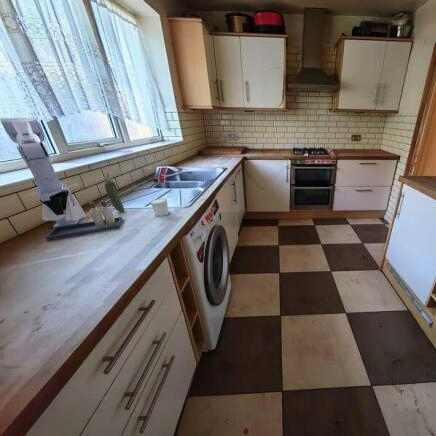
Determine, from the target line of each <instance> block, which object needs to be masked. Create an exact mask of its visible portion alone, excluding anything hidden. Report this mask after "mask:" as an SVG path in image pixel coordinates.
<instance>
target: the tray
mask: <svg viewBox="0 0 436 436" xmlns="http://www.w3.org/2000/svg"><path fill="white" fill-rule="evenodd" d="M114 219H115V221H116V224H117V225H114V226H107V224H106V221H105V219H104V222H105V224H106V227H101V228H96V225H95V223H94V220H92V221H86V222H80V223H79V222H78V223H76V224H70V225H64V226H57V227H53V229H52V230H51V231H50V232H49V233H48V234H47V235H46V236H45V239H46V241H53V240H58V239H59V240H60V239H65V238H71V237H72V238H73V237H77V236H82V235H88V234H95V233H100V232H107V231H113V230H119V229H120V227H121V225H122V224H123V221H124V218H123V217H122V216H119V217H118V216H117V217H114Z"/></svg>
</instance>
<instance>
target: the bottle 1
mask: <svg viewBox="0 0 436 436" xmlns="http://www.w3.org/2000/svg"><path fill="white" fill-rule="evenodd" d="M89 206H90V210H89V213H90V216H91V218H92V221H94V223H95V225H96V228H101V227H106V224H105V222H104V220H105V219H104V216H103V214H102V211H101V209H100V208H98V207H97V206H96V205H95V202H94V201H89Z"/></svg>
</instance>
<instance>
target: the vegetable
mask: <svg viewBox="0 0 436 436" xmlns="http://www.w3.org/2000/svg"><path fill="white" fill-rule="evenodd" d="M117 187H118V186H117V184H116V182H114V181H113V180H112V177H111V174H110V172H108V171H107V172H106V174H105V182H104V189H105V192H106V194H107V197H108V198H109V200H110V203H111V204H112V207H113V208H114V209H115V211H117V212H119V213H123V212H124V211H125V207H124V205H123V203H122V201H121V199H120V197H119V195H118V188H117Z"/></svg>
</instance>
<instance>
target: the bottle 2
mask: <svg viewBox="0 0 436 436" xmlns="http://www.w3.org/2000/svg"><path fill="white" fill-rule="evenodd" d="M100 204H101V209H100V212H101V215H102V217H103V219H104V220H105V221H106V224H107V226H114V225H117V224H116V221H115V219H114V218H115V216H114V214H113V211H112V208H111V207H110V206H108V204H107V203H106V200H100Z"/></svg>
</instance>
